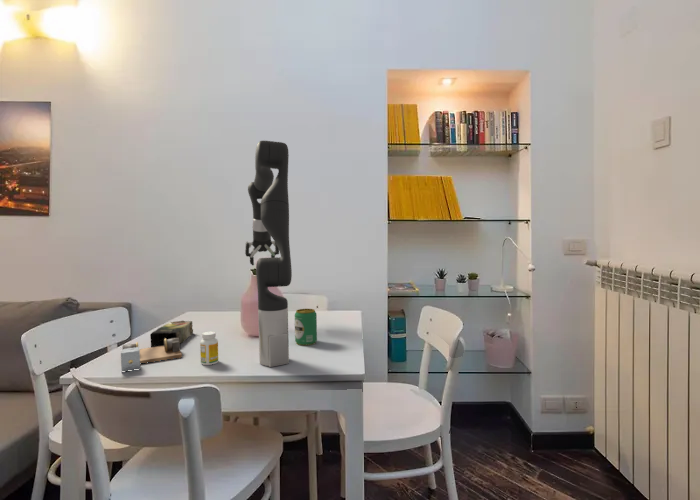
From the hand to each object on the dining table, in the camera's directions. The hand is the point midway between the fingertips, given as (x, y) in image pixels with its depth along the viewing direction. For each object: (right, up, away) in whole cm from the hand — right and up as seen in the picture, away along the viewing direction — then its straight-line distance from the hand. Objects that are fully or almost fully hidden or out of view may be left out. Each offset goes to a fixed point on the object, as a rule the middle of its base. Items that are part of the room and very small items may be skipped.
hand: (262, 264), depth 180 cm
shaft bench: (-28, -29, -43) cm, 59 cm away
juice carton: (-29, -29, -23) cm, 47 cm away
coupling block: (-29, -30, -55) cm, 69 cm away
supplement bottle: (-6, -30, -50) cm, 59 cm away
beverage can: (+22, -28, -29) cm, 46 cm away
